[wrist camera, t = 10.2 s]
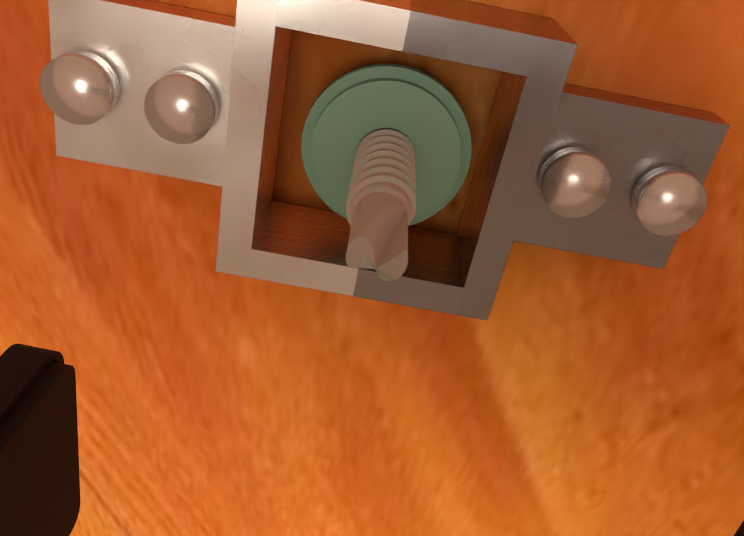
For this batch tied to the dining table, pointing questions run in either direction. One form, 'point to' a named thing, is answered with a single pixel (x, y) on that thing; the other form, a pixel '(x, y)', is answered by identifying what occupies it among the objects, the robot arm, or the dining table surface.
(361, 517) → the dining table surface
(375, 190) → the screw
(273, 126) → the riveted metal bracket
